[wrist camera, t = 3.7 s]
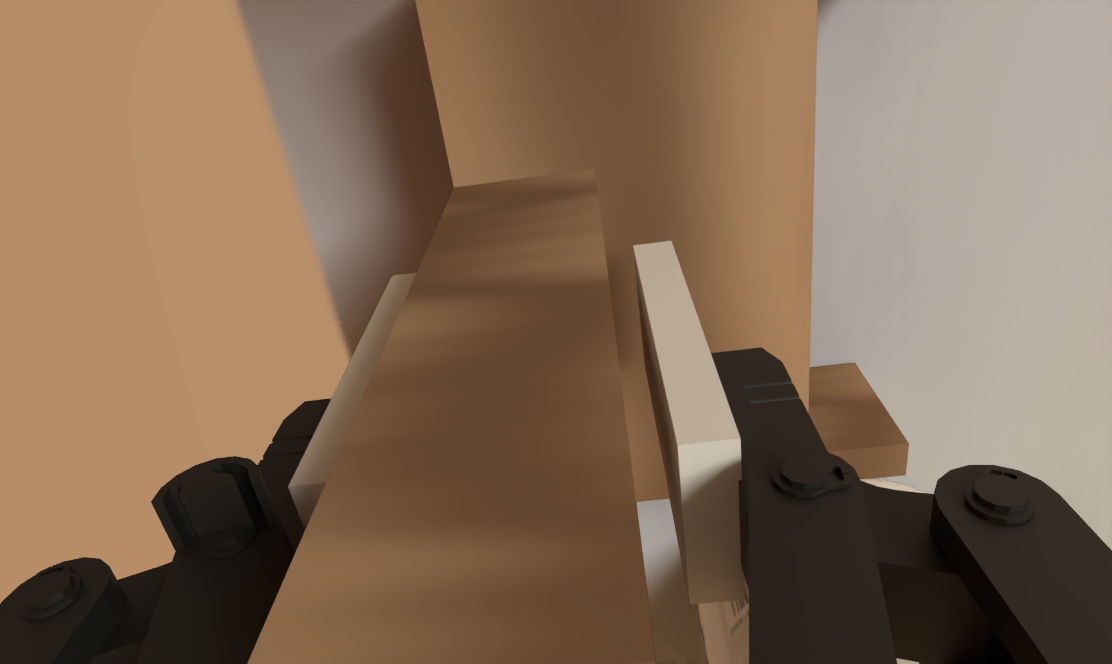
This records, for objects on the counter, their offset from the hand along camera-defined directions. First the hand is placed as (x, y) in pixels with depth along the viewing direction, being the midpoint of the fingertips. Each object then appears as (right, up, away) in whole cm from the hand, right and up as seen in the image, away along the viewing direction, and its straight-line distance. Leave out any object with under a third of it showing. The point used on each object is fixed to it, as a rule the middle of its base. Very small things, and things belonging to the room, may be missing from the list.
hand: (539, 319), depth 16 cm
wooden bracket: (+4, +3, +5) cm, 7 cm away
